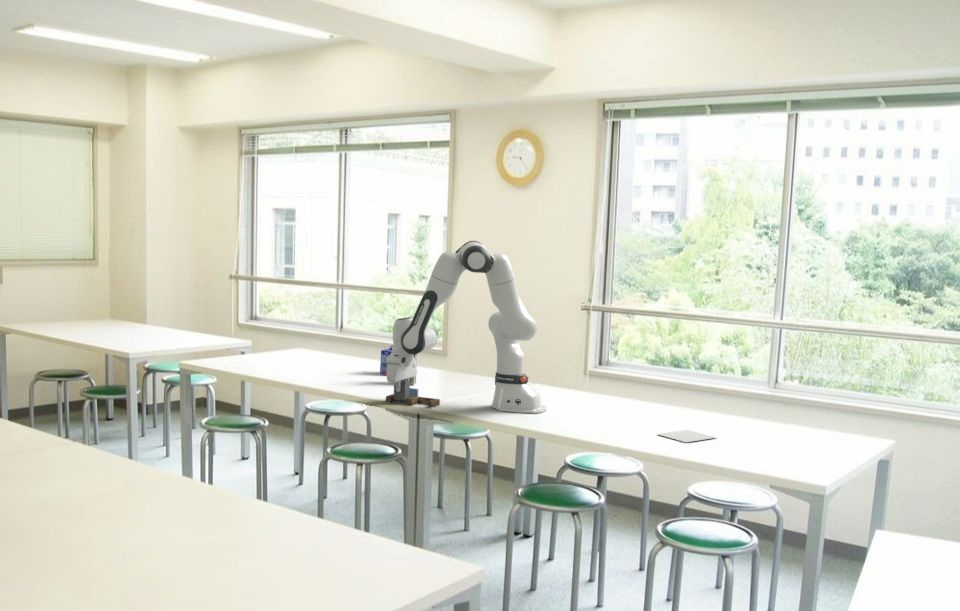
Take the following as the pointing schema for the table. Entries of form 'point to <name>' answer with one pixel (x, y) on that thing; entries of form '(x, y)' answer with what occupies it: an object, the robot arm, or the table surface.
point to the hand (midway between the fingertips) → (401, 390)
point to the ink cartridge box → (384, 360)
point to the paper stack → (686, 435)
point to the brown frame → (415, 399)
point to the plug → (402, 390)
